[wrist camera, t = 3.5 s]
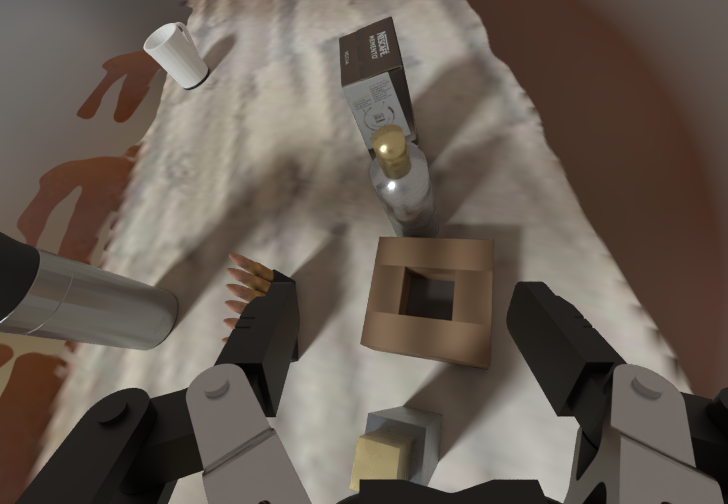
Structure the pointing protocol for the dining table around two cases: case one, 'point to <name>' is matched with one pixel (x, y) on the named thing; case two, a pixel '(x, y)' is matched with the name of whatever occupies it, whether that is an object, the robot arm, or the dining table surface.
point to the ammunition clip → (251, 288)
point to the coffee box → (376, 81)
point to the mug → (177, 55)
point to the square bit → (398, 446)
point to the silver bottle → (403, 184)
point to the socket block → (432, 300)
